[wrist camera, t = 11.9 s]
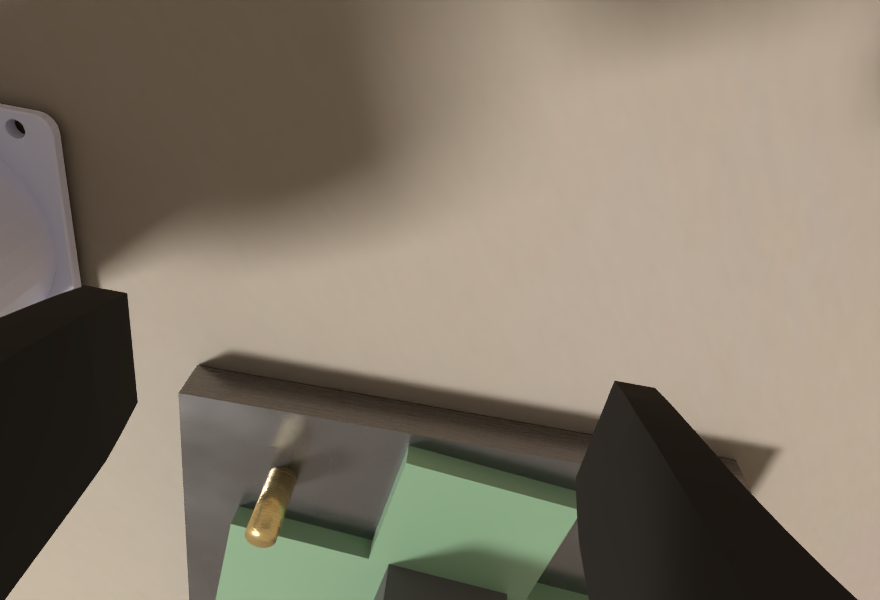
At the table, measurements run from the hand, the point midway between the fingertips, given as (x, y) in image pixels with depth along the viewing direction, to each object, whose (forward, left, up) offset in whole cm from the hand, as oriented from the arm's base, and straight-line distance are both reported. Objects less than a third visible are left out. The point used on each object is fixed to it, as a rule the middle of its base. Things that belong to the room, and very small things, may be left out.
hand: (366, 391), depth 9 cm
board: (+3, -17, -8) cm, 19 cm away
